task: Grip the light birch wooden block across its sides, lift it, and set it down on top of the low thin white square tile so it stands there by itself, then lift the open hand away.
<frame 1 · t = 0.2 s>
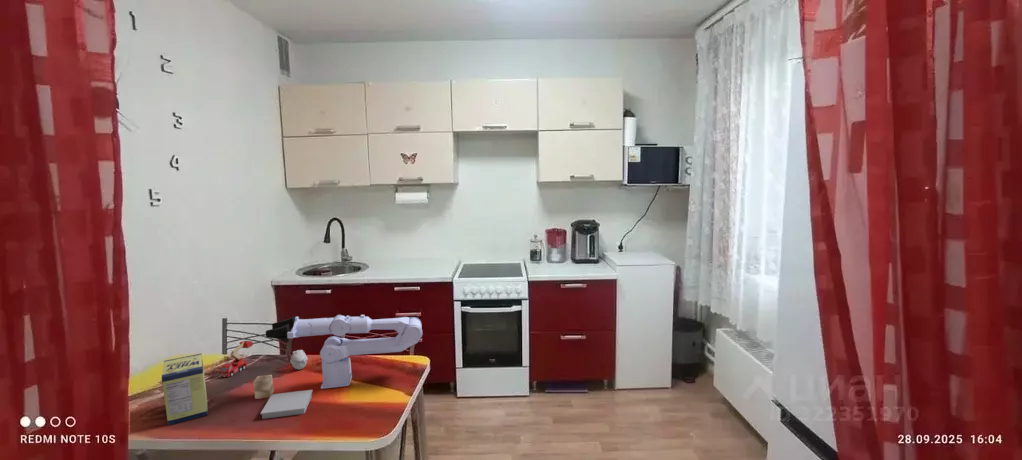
hand: (269, 330, 161), 21 cm above the table, tool horizontal, fingers open, 7 cm apart
toy fire truck: (238, 370, 182), on the table
protein box: (188, 411, 152), on the table
white rounded lump: (299, 369, 182), on the table
birch block: (264, 395, 161), on the table
thin white square tile: (288, 408, 152), on the table
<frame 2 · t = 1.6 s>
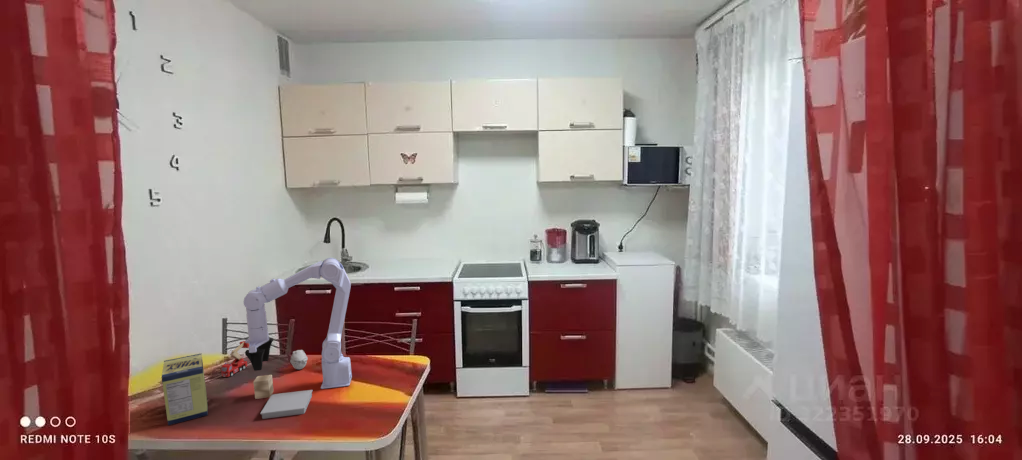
hand: (261, 365, 160), 10 cm above the table, tool pointing down, fingers open, 7 cm apart
nothing on the table moved.
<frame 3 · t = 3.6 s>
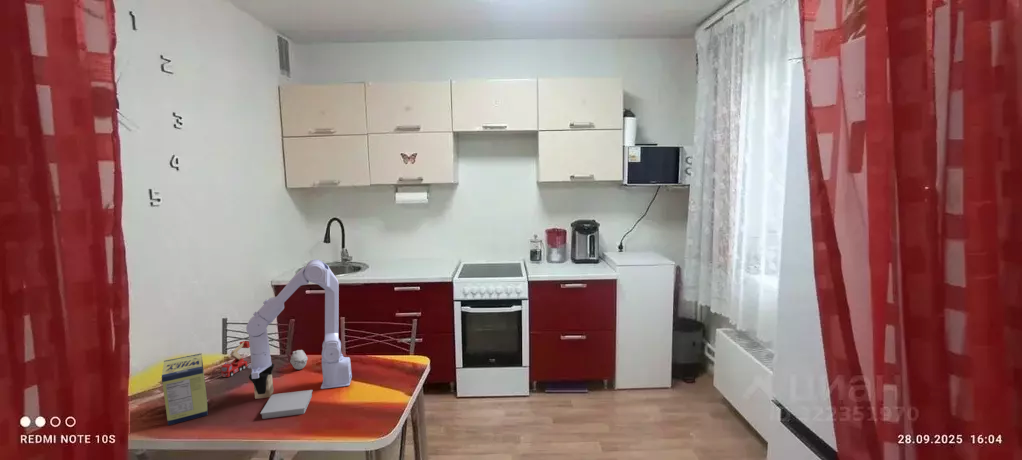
hand: (264, 390, 161), 2 cm above the table, tool pointing down, fingers closed on birch block, 4 cm apart
birch block: (264, 394, 161), on the table, touching gripper
everything else where it was.
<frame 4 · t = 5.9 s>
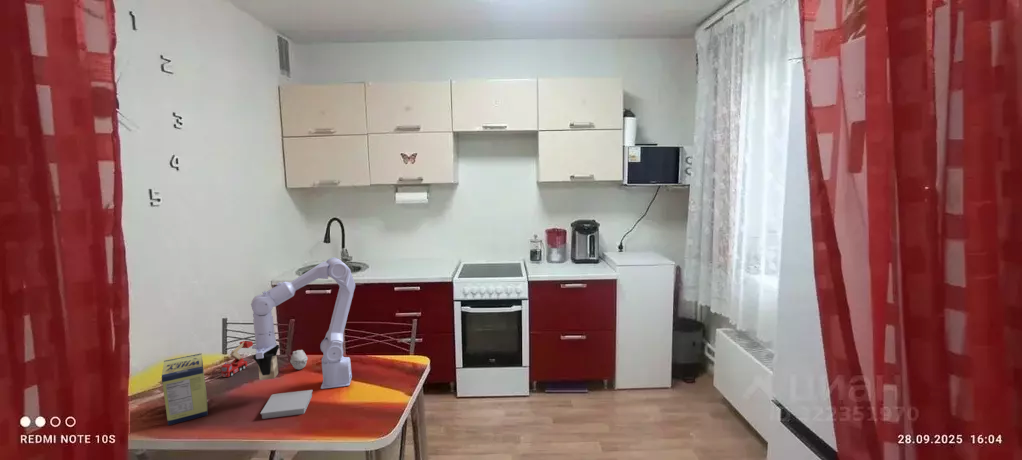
hand: (268, 371, 157), 9 cm above the table, tool pointing down, fingers closed on birch block, 4 cm apart
birch block: (269, 376, 157), point 8 cm above the table, touching gripper
everything else where it was.
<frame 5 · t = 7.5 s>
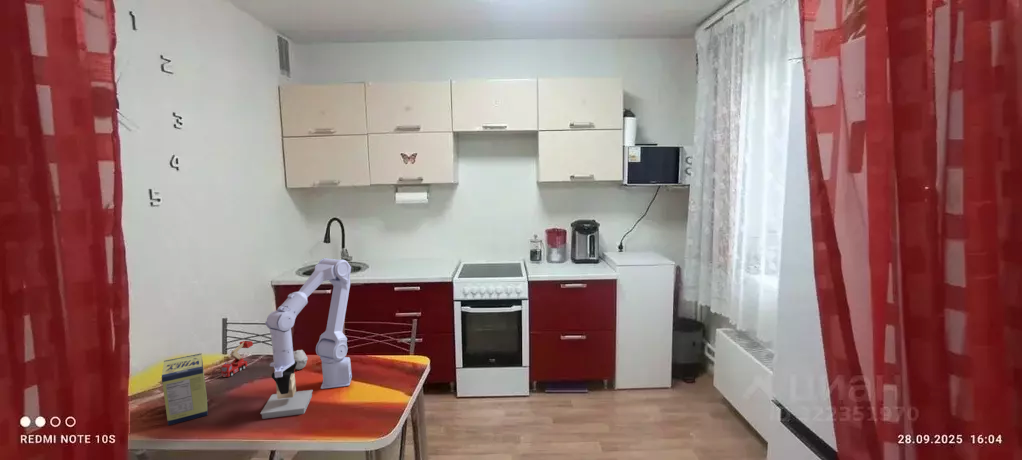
hand: (286, 389, 151), 6 cm above the table, tool pointing down, fingers closed on birch block, 4 cm apart
birch block: (286, 394, 152), point 4 cm above the table, touching gripper
everything else where it was.
when the fingers open (5 cm above the table, at t = 8.5 s): birch block drops 2 cm, resting on thin white square tile.
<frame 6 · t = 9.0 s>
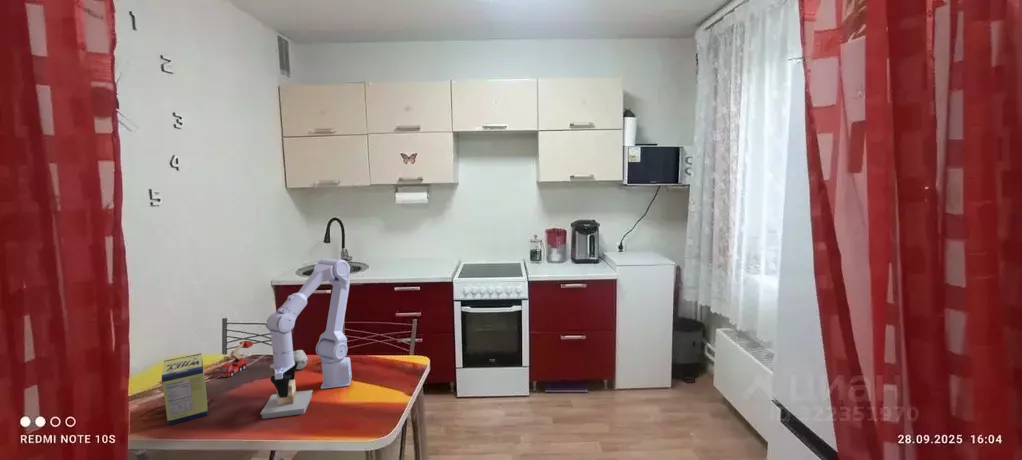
hand: (286, 391, 152), 5 cm above the table, tool pointing down, fingers open, 7 cm apart
birch block: (287, 401, 152), point 2 cm above the table, touching thin white square tile
thin white square tile: (288, 408, 152), on the table, touching birch block
everything else where it was.
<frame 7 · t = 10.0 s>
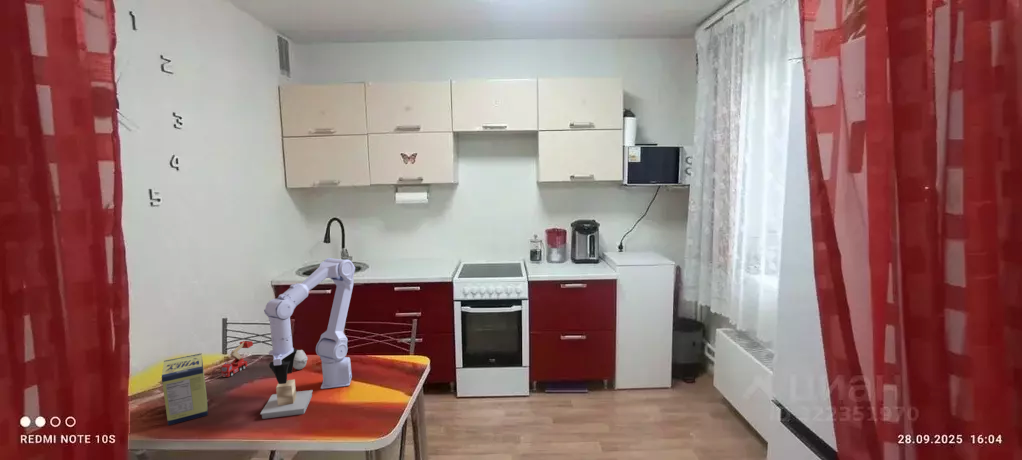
hand: (285, 378, 151), 10 cm above the table, tool pointing down, fingers open, 7 cm apart
nothing on the table moved.
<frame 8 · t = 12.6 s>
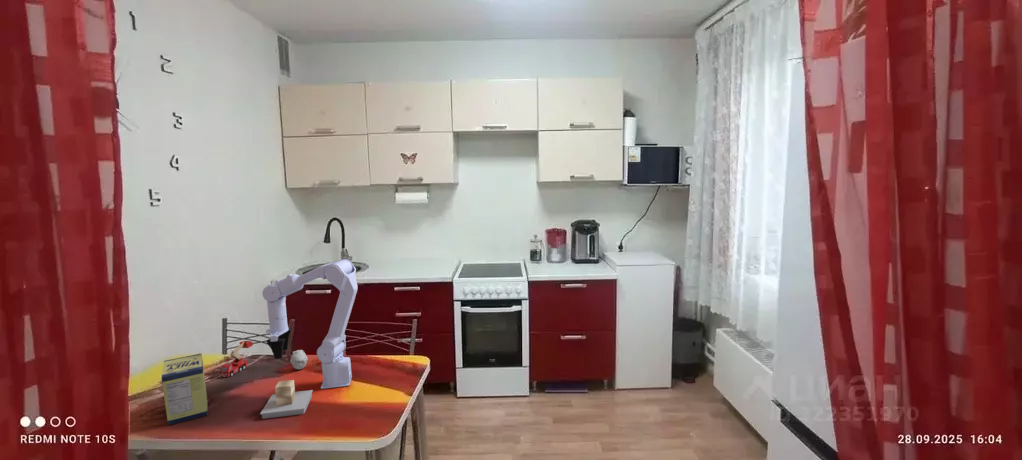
hand: (281, 354, 169), 10 cm above the table, tool pointing down, fingers open, 7 cm apart
birch block: (286, 401, 152), point 2 cm above the table
thin white square tile: (288, 408, 152), on the table
everything else where it was.
at the end: birch block inside the target area on the thin white square tile (0.5 cm from its centre), point 2.5 cm above the thin white square tile's base; birch block tilted 0°; the gripper is holding nothing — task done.
